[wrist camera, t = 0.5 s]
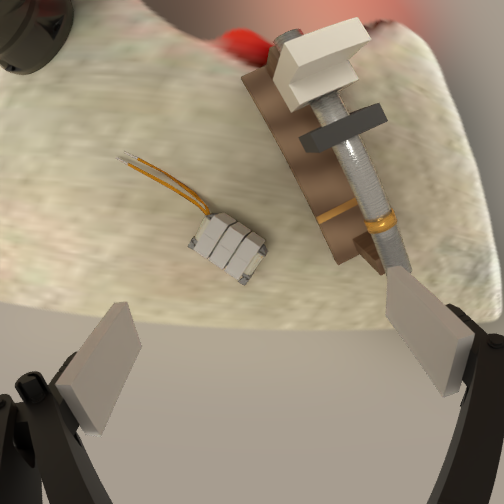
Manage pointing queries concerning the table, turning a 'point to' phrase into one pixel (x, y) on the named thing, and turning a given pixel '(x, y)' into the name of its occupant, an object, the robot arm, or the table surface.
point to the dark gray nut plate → (343, 129)
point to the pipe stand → (314, 169)
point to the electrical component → (220, 236)
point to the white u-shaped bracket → (319, 62)
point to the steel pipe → (360, 177)
